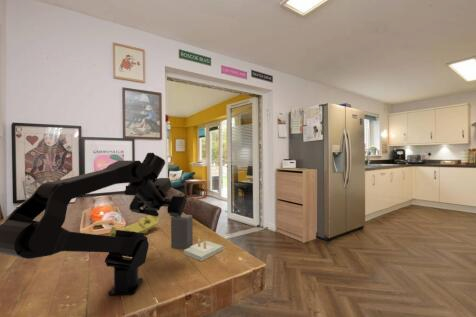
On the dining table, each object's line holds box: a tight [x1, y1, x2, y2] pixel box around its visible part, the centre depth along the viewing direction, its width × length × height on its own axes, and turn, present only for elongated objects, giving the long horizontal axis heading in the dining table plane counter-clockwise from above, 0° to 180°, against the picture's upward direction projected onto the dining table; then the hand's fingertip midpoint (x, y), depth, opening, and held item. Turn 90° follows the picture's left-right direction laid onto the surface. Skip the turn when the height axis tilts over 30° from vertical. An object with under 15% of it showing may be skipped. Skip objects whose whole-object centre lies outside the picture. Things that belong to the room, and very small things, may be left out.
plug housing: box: [170, 213, 194, 250], centre depth 84 cm, size 4×7×12 cm, turn 73°
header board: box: [183, 238, 224, 262], centre depth 79 cm, size 11×9×4 cm
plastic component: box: [108, 215, 159, 236], centre depth 99 cm, size 20×7×10 cm
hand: (168, 216), depth 76 cm, fingers open, 9 cm apart
